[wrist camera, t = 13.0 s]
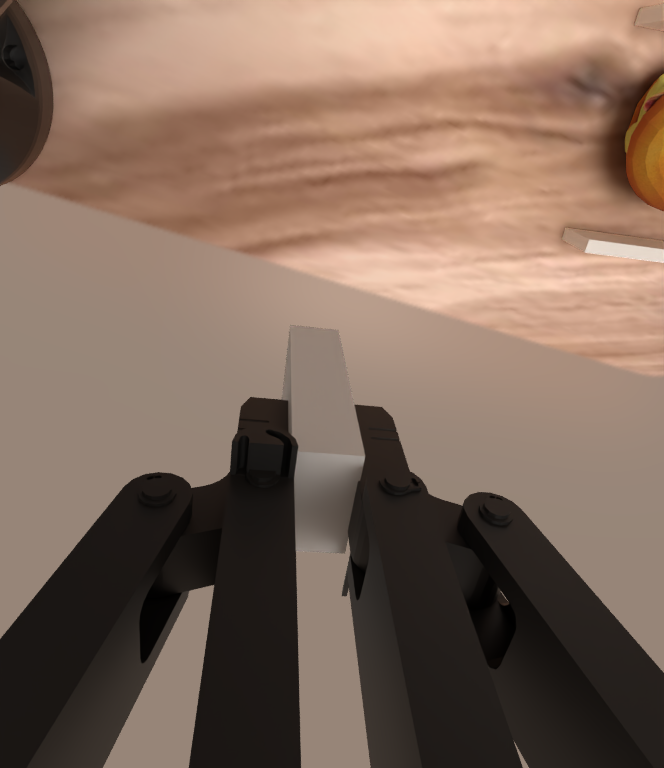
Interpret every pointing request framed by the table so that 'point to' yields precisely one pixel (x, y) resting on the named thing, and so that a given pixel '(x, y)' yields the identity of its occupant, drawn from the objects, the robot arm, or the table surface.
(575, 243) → the box
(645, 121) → the cheeseburger
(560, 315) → the table surface
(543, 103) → the table surface
